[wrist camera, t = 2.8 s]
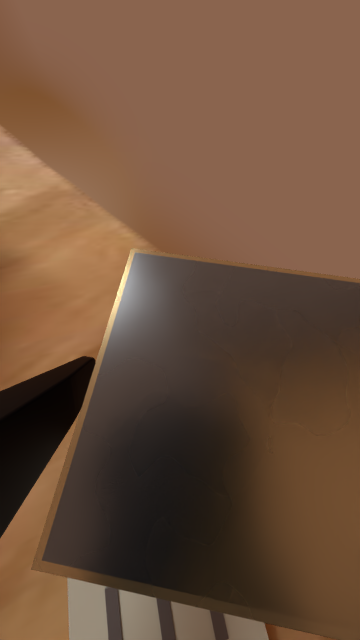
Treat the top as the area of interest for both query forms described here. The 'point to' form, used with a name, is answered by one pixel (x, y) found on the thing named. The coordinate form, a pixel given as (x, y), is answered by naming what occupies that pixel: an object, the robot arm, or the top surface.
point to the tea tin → (220, 446)
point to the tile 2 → (148, 618)
